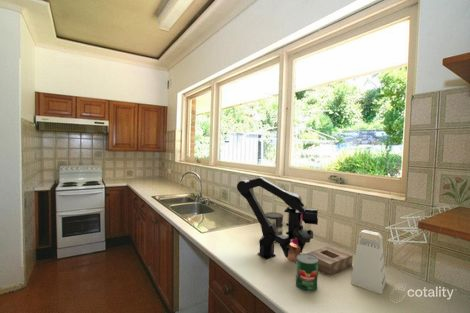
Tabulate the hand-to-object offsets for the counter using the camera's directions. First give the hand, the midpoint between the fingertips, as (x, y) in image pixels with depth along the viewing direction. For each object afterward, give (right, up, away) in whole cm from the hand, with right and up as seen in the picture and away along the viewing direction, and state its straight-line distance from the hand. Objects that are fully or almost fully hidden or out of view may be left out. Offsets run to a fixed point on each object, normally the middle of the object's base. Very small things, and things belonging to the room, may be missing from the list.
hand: (293, 255), depth 114 cm
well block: (+15, -3, -4) cm, 16 cm away
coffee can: (-5, -1, +25) cm, 26 cm away
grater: (+25, -4, -18) cm, 31 cm away
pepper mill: (+7, -2, +22) cm, 23 cm away
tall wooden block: (0, -2, 0) cm, 2 cm away
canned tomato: (0, -3, -21) cm, 22 cm away
